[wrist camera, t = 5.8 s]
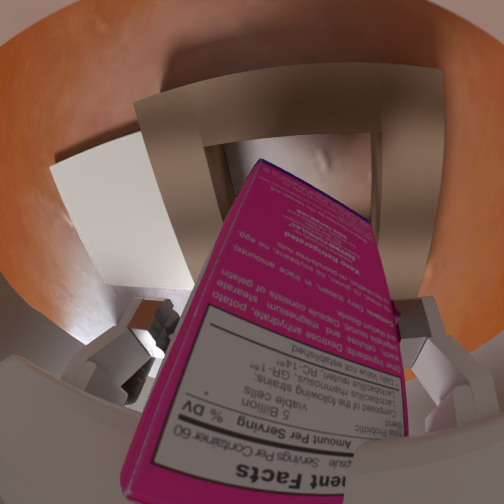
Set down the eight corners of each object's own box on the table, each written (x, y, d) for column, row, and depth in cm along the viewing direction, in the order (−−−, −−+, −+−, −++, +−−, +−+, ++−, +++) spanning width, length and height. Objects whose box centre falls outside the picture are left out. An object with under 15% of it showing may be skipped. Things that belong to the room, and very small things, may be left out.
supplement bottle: (121, 341, 36) (86, 406, 27) (113, 315, 32) (69, 389, 23) (161, 358, 36) (130, 429, 27) (158, 335, 32) (119, 417, 23)
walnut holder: (159, 95, 15) (133, 102, 12) (421, 68, 10) (442, 69, 8) (216, 284, 24) (205, 309, 22) (405, 283, 20) (412, 311, 17)
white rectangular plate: (55, 163, 19) (49, 167, 19) (153, 126, 16) (147, 129, 16) (109, 279, 27) (106, 284, 27) (205, 284, 24) (202, 290, 24)
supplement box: (308, 295, 15) (275, 514, 6) (211, 247, 14) (109, 469, 5) (377, 221, 11) (410, 521, 3) (260, 152, 11) (91, 491, 2)
